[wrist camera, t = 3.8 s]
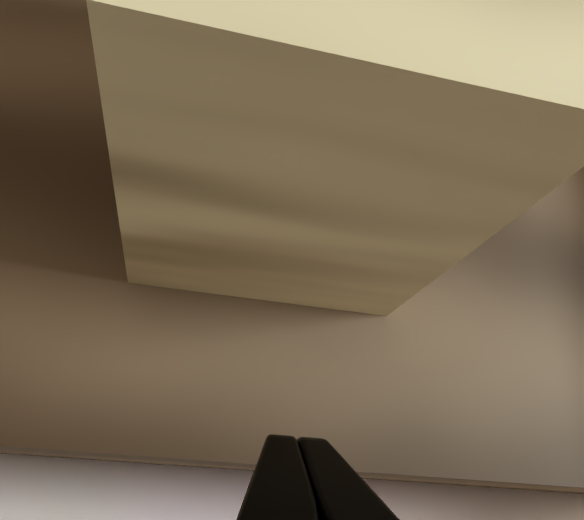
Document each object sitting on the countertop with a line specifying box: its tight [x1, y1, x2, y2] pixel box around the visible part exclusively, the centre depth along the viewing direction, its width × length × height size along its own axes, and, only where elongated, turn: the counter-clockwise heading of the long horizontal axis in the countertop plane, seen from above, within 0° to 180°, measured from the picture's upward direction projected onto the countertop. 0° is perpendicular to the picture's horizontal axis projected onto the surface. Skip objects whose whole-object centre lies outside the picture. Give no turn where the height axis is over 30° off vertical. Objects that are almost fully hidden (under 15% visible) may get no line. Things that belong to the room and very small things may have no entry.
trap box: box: [0, 0, 584, 493], centre depth 16 cm, size 24×26×6 cm
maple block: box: [86, 0, 584, 316], centre depth 10 cm, size 8×6×8 cm
